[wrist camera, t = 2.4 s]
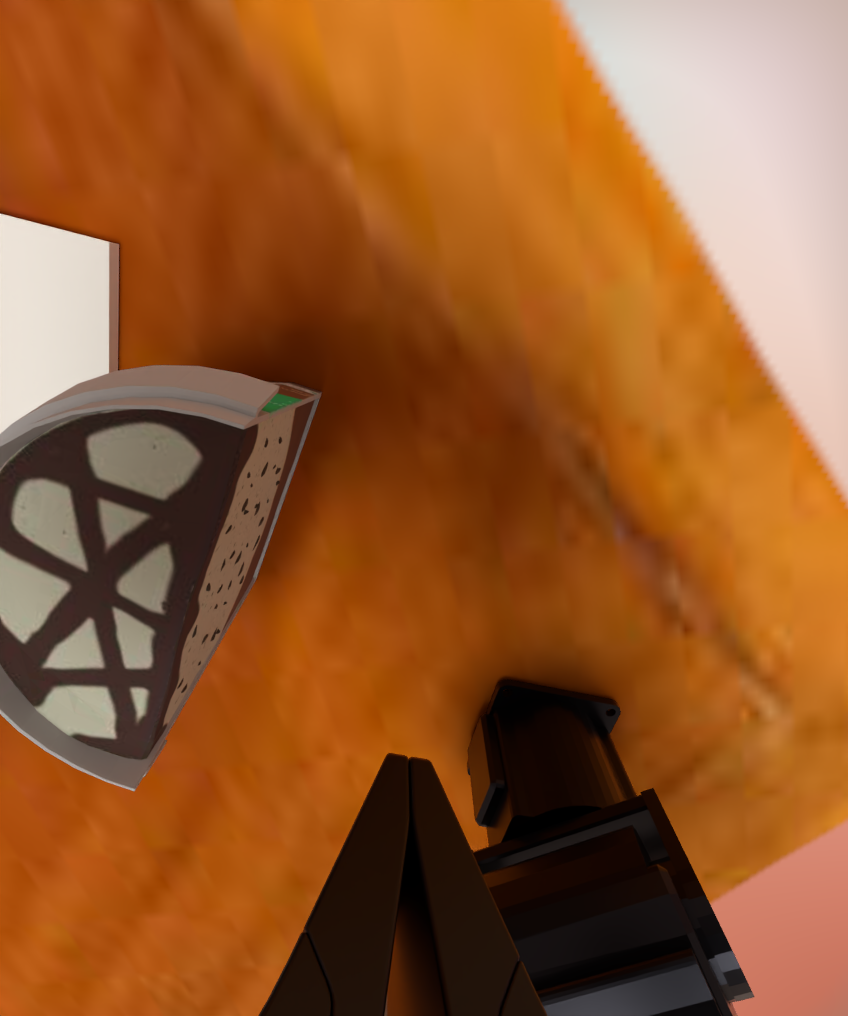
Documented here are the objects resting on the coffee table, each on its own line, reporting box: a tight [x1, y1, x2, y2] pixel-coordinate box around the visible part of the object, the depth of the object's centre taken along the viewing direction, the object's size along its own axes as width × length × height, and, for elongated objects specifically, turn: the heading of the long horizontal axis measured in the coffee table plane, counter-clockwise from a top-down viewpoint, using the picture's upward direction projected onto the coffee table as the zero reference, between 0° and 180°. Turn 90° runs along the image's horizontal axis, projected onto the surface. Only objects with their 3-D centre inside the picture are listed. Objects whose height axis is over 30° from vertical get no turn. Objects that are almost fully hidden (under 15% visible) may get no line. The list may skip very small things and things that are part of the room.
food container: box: [0, 365, 322, 791], centre depth 16 cm, size 12×6×10 cm, turn 156°
